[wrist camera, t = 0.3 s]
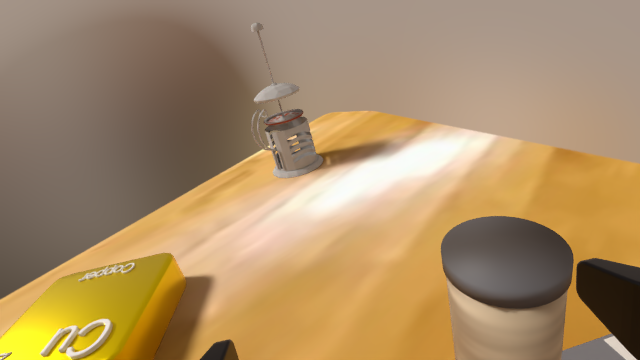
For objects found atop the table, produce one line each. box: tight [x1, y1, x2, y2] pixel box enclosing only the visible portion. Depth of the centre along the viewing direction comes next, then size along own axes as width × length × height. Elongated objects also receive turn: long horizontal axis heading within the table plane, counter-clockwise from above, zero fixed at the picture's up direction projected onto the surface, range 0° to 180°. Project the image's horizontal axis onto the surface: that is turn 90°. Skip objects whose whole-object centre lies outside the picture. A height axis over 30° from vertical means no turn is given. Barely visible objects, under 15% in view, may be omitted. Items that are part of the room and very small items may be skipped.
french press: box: [251, 23, 323, 178], centre depth 58 cm, size 10×12×25 cm
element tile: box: [0, 253, 186, 360], centre depth 34 cm, size 15×15×5 cm
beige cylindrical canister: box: [441, 216, 573, 360], centre depth 16 cm, size 5×5×12 cm
